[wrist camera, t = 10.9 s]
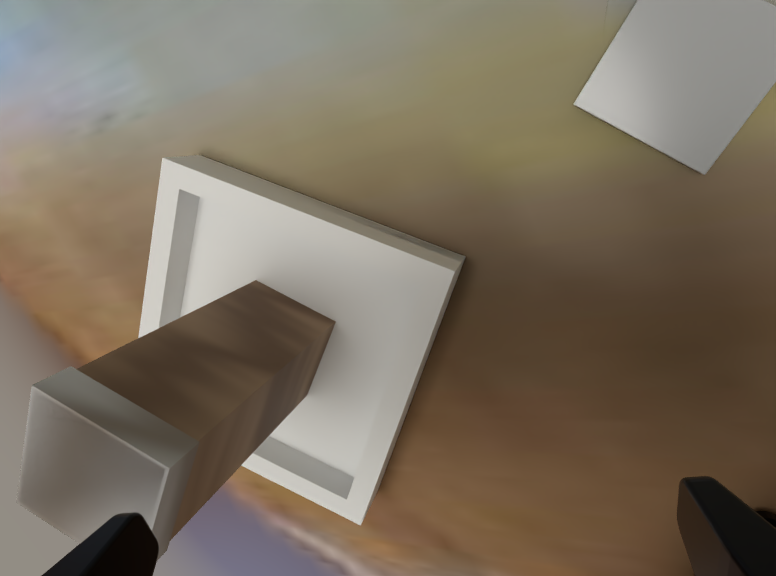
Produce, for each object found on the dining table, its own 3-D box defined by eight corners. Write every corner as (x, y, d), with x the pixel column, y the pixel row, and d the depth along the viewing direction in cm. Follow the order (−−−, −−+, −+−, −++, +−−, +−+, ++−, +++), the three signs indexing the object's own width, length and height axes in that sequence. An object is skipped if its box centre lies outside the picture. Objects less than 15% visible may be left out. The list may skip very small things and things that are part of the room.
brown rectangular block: (338, 320, 23) (169, 468, 13) (308, 397, 25) (137, 581, 15) (254, 277, 24) (31, 385, 14) (230, 354, 25) (16, 502, 15)
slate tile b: (805, 31, 16) (817, 27, 16) (698, 173, 18) (704, 175, 18) (662, -40, 17) (667, -48, 16) (573, 105, 19) (573, 104, 18)
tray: (465, 256, 22) (454, 271, 19) (377, 490, 26) (360, 525, 24) (200, 155, 24) (162, 157, 22) (163, 386, 29) (129, 408, 26)
